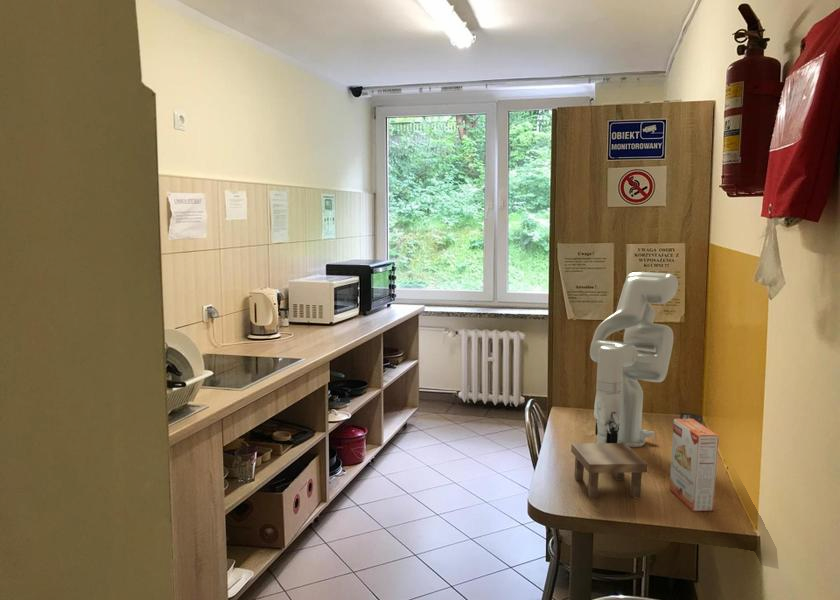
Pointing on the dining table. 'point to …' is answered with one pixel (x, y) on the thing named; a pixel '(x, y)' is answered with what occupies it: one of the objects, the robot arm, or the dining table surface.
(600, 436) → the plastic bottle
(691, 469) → the cracker box
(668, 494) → the dining table surface
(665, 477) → the dining table surface
